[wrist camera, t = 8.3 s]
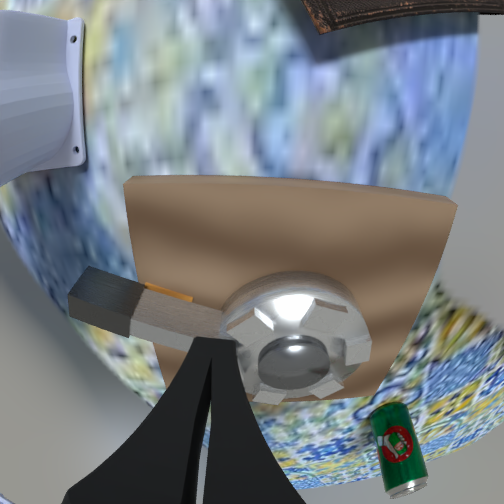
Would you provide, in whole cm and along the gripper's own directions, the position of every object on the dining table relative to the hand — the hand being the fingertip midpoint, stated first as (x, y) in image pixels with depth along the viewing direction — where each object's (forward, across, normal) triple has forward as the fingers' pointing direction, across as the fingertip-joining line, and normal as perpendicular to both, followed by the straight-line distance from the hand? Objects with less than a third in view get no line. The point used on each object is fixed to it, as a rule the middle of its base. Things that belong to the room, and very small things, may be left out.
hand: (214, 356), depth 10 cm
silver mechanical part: (+8, 0, +5) cm, 9 cm away
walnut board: (+10, -4, +6) cm, 12 cm away
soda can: (+10, -21, +22) cm, 32 cm away
